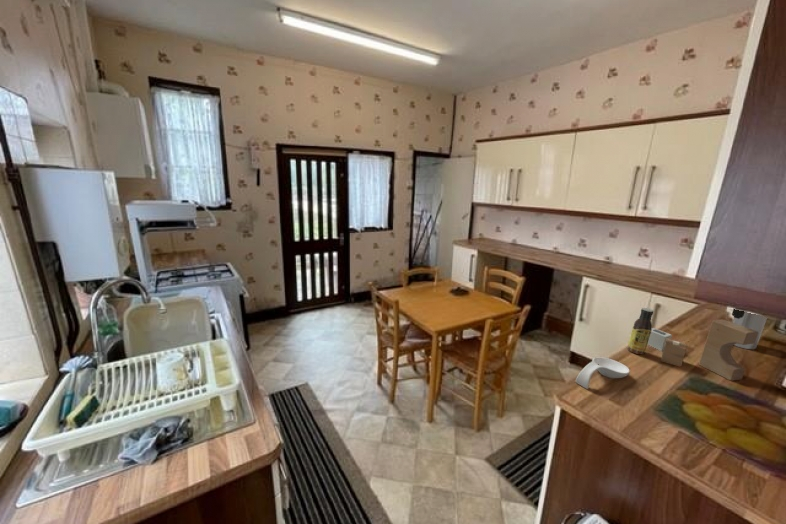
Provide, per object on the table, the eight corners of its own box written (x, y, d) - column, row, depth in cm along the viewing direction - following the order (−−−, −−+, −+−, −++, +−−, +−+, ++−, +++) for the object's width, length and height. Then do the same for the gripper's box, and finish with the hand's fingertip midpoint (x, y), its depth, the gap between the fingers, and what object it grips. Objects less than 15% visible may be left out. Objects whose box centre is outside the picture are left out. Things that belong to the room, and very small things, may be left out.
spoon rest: (601, 361, 128) (605, 346, 126) (634, 377, 118) (638, 361, 117) (566, 378, 117) (569, 361, 116) (598, 397, 107) (602, 379, 106)
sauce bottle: (631, 354, 134) (642, 311, 128) (623, 346, 140) (633, 305, 134) (648, 356, 133) (660, 313, 127) (640, 348, 139) (650, 307, 133)
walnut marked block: (661, 355, 134) (666, 337, 131) (680, 360, 130) (685, 342, 128) (661, 361, 129) (666, 343, 127) (680, 366, 125) (686, 348, 123)
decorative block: (742, 379, 118) (759, 332, 112) (730, 381, 117) (747, 333, 111) (708, 363, 128) (723, 318, 123) (697, 364, 127) (711, 319, 122)
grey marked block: (650, 341, 145) (653, 327, 143) (667, 348, 139) (671, 334, 137) (643, 343, 143) (647, 329, 141) (661, 351, 137) (665, 336, 135)
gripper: (782, 276, 108) (765, 322, 113) (728, 267, 119) (714, 309, 123) (778, 280, 104) (761, 327, 109) (723, 270, 115) (709, 313, 119)
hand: (736, 317), depth 116 cm, fingers closed
